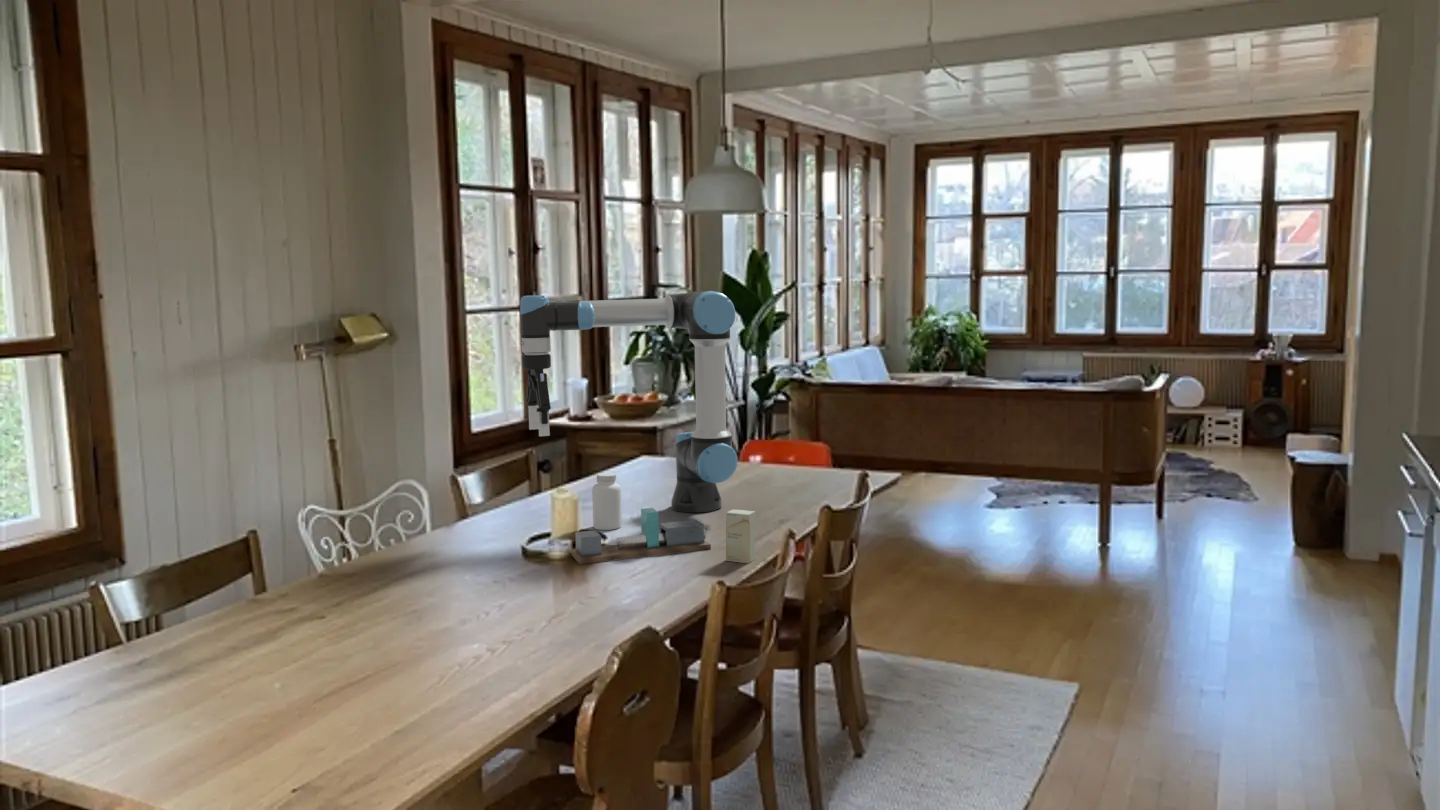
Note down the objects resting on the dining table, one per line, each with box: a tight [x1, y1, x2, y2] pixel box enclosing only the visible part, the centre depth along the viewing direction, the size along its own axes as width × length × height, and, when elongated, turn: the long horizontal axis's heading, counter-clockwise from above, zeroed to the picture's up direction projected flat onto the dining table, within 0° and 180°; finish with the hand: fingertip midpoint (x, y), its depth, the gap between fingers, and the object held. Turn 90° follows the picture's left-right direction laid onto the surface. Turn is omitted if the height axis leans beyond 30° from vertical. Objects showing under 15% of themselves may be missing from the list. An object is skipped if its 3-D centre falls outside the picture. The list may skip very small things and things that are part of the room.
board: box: [570, 539, 712, 565], centre depth 263 cm, size 34×10×1 cm, turn 111°
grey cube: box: [575, 529, 602, 557], centre depth 258 cm, size 5×6×5 cm
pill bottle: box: [591, 472, 623, 531], centre depth 289 cm, size 8×8×15 cm
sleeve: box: [659, 519, 705, 547], centre depth 267 cm, size 10×6×5 cm, turn 111°
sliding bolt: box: [615, 507, 707, 549], centre depth 264 cm, size 23×5×9 cm, turn 111°
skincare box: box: [725, 508, 756, 564], centre depth 253 cm, size 6×4×12 cm
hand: (539, 432), depth 280 cm, fingers open, 13 cm apart
